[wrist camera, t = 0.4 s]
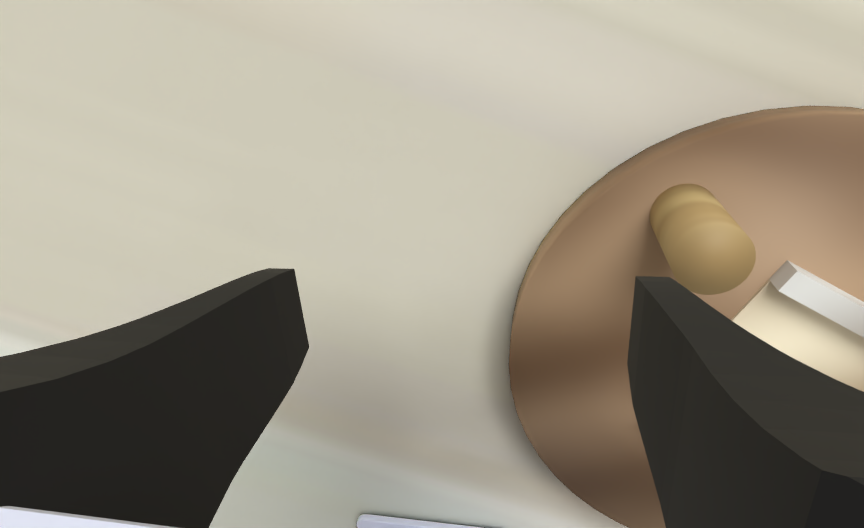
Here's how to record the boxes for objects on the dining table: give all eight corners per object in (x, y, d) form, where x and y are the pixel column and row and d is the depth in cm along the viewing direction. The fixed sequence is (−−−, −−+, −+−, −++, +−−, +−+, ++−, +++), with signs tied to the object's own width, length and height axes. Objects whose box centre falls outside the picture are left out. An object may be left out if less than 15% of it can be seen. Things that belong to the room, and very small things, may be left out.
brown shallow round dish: (954, 547, 23) (1056, 684, 18) (512, 500, 26) (504, 605, 22) (1174, 93, 15) (1445, 133, 10) (509, 115, 19) (497, 152, 14)
